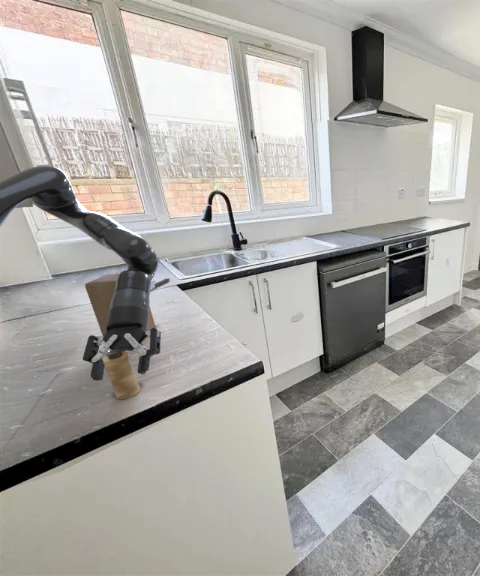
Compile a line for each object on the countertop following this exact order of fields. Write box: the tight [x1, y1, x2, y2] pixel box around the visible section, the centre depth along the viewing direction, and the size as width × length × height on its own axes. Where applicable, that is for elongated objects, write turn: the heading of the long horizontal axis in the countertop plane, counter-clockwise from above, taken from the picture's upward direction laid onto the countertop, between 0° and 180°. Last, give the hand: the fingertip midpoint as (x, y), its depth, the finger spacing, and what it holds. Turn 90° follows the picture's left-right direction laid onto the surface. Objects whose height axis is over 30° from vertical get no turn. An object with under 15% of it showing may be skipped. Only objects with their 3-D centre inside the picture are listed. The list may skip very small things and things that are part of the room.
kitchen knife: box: [150, 278, 170, 291], centre depth 140 cm, size 4×1×30 cm
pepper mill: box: [103, 349, 141, 400], centre depth 70 cm, size 4×4×11 cm
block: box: [84, 273, 156, 336], centre depth 96 cm, size 10×10×20 cm
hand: (119, 376), depth 69 cm, fingers open, 8 cm apart
